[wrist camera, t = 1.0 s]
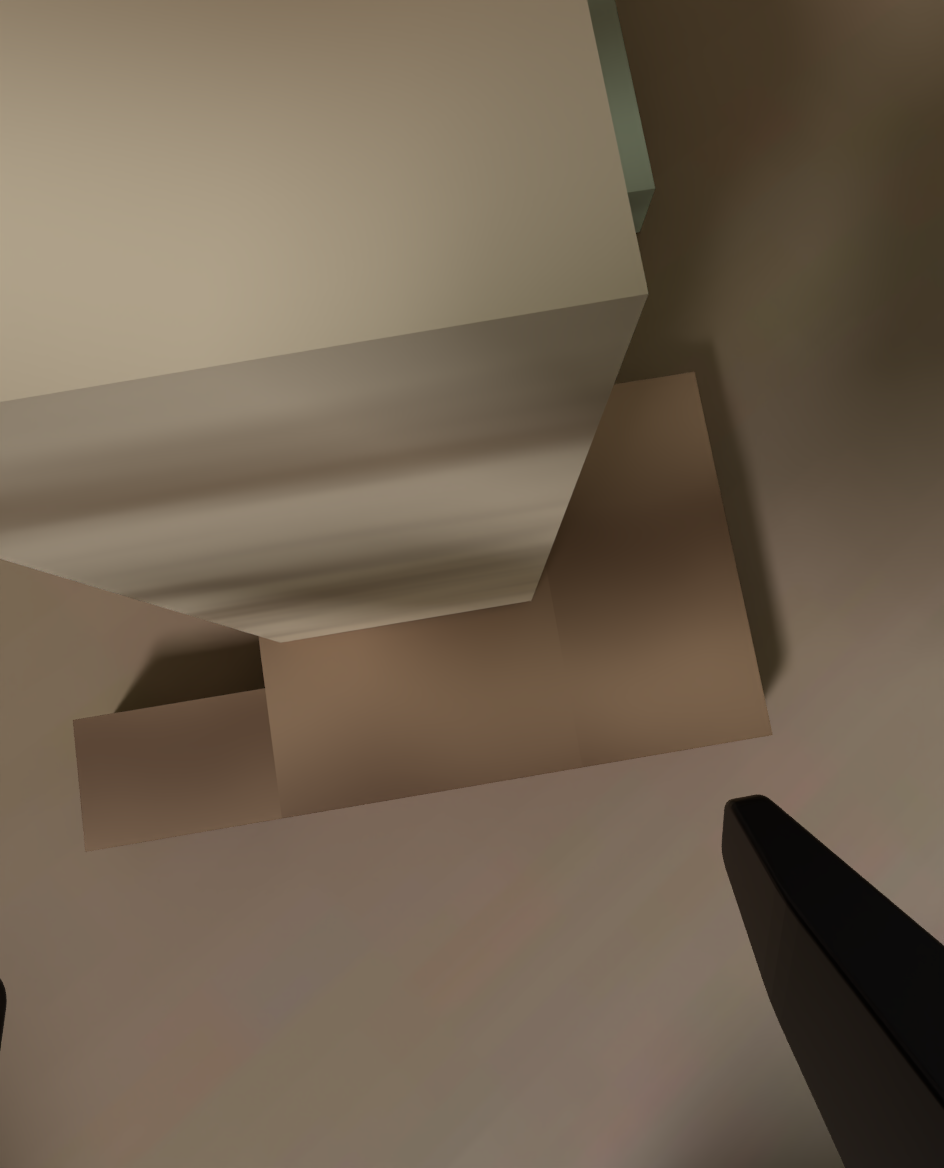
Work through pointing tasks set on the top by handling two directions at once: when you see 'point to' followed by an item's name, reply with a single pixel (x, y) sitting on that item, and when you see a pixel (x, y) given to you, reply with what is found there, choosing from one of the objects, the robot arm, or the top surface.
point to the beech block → (304, 300)
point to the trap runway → (482, 642)
